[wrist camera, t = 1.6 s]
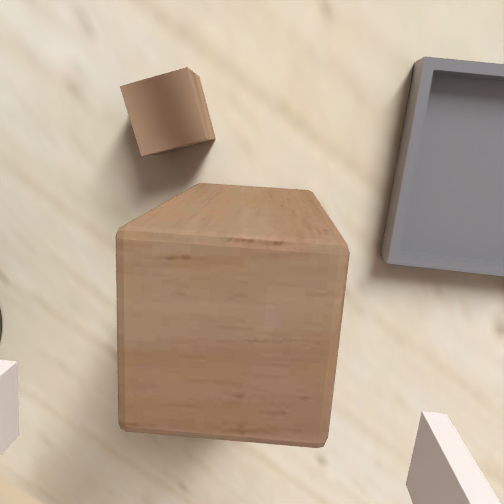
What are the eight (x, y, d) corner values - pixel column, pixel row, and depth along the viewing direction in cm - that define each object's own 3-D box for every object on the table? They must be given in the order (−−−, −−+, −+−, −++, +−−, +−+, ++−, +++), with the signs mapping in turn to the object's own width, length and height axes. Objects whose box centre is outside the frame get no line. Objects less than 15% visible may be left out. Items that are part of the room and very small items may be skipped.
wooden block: (303, 301, 40) (328, 453, 21) (192, 293, 41) (115, 434, 21) (313, 189, 38) (353, 243, 18) (195, 182, 38) (111, 226, 19)
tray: (380, 255, 39) (387, 263, 36) (414, 62, 35) (424, 56, 32) (563, 275, 38) (582, 285, 36) (618, 82, 34) (644, 78, 32)
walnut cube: (158, 154, 38) (141, 156, 33) (140, 93, 37) (119, 86, 32) (215, 139, 37) (206, 139, 32) (199, 76, 36) (187, 67, 31)
